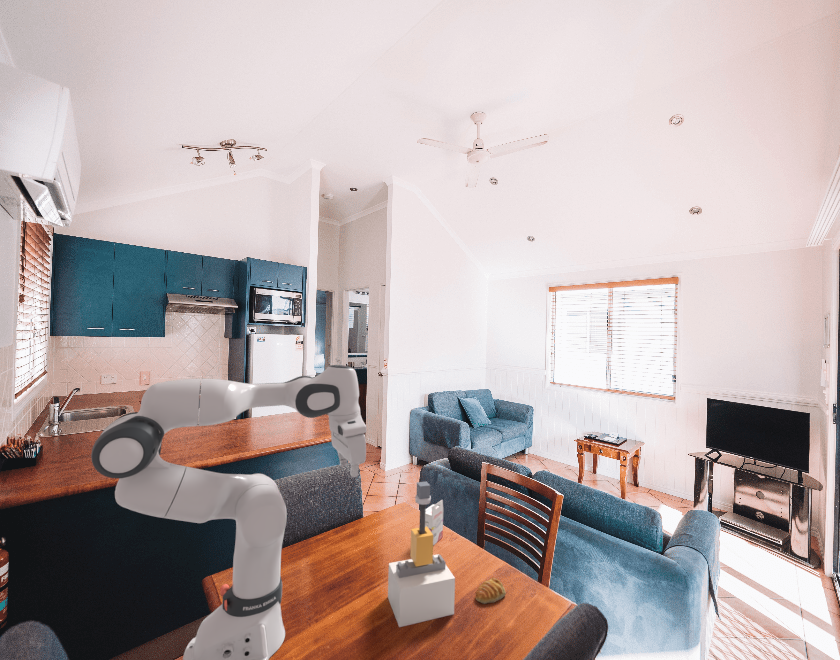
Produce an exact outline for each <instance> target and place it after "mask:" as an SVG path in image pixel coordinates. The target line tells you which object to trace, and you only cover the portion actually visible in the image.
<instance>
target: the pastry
mask: <svg viewBox="0 0 840 660" xmlns="http://www.w3.org/2000/svg"><path fill="white" fill-rule="evenodd" d="M506 594H507V593H506V589H505V587H504V585H503V583H502V581H501V580H499V579H498V578H496V577H492V578H489V580H485V581H483V582H482V583H481V584H480V585H479V586H478V588H477V589H476V592H475V600H476V601H477V602H479V603H481V604H483V605H487V604H490V603H491V604H492V603H496V602H497V601H500V600H501V599H503V598H504V597H505V596H506Z"/></svg>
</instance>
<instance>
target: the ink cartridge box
mask: <svg viewBox="0 0 840 660" xmlns="http://www.w3.org/2000/svg"><path fill="white" fill-rule="evenodd" d="M425 527H428V528H429V530H430V531H431V533H432V534H433V546H435V545H436V544H437V543H438V542H440V540H441V539H442V538H443V537H444V500H443V499H441V500H440V501H437V503H434V504H431V505H430V506H428V507H427V508H426V510H425Z"/></svg>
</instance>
